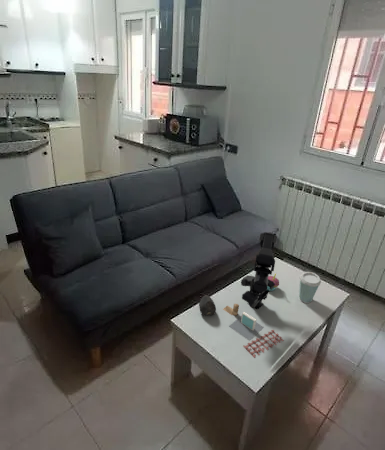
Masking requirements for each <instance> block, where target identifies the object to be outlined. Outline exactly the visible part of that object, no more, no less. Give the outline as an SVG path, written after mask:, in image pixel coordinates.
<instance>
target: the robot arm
mask: <svg viewBox="0 0 385 450" xmlns="http://www.w3.org/2000/svg"><path fill="white" fill-rule="evenodd" d="M277 239H278V236H277V235H275V234H274V233H272V232H268V231H265V232H261V233H260V234H259V240H258V242H259V247H260V250H258V254H256V258H255V263H254V268H253V272H255V274H254V276H253V275H246V276H244V277H243V278H242V279H241V282H240V283H241V286H242V287H249V290H246V291H245V292H244V293H242V295H241V299H242V300H243V301H244V302H246V303H247V305H249V306H250V307H251V308H252V309H255V310H257V311H258V310H259V309H261V308H262V307H263V306H264V305H265V303H263V302H262V301H263V300H266V299H267V298H268V294H270V292H271V291H270V290H268V288H267V286H269V287H270V289H271V290H272V289H273V288H274V286H275V284H274V282H273V281H271V280H269V279H268V276H273V272H274V271H275V270H274V269H275V267H276V266H275V265H276V264H275V263H276V259H275V257H274V252H273V251H272V250H273V249H274V247H275V245H276V244H277Z"/></svg>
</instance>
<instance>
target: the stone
mask: <svg viewBox="0 0 385 450" xmlns="http://www.w3.org/2000/svg"><path fill="white" fill-rule="evenodd" d="M198 302H199V304H198V308H199V312H200V313H201V315H202V316H213V315H215V314H216V311H217V308H216V304H215V302H214V300H213V298H212V297H211V296H210V295H208V294H206V295H203V296H202V297H201V298H200V301H198Z"/></svg>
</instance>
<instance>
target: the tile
mask: <svg viewBox="0 0 385 450" xmlns="http://www.w3.org/2000/svg"><path fill="white" fill-rule="evenodd" d="M241 316H242V318H241V323H242V324H244V325H245V326H247V327H248V328H250V329H251V330H254V329H255V324H256V322H257V319H256V318H255V317H253V316H252V315H251V314H248V313H247V312H245V311H243V312H242V314H241Z"/></svg>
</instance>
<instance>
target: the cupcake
mask: <svg viewBox="0 0 385 450" xmlns="http://www.w3.org/2000/svg"><path fill="white" fill-rule="evenodd" d="M276 275H277V273H274V275H269V276H268V279H269V280H271V281H273V282H274V284H275V286H274V288H273V289H272V290H271V289H270V287H269V286H267V288H268V290H269V291H270V292H271V291H272V292H273V291H274V290H276V288H278V287H279V286H280V280H279V278H277V277H276Z"/></svg>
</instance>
